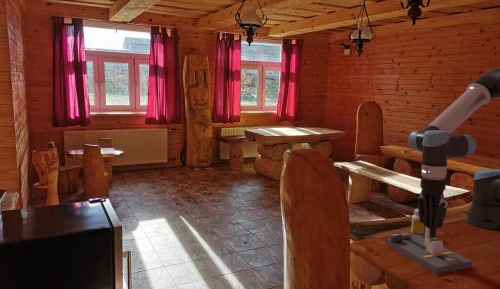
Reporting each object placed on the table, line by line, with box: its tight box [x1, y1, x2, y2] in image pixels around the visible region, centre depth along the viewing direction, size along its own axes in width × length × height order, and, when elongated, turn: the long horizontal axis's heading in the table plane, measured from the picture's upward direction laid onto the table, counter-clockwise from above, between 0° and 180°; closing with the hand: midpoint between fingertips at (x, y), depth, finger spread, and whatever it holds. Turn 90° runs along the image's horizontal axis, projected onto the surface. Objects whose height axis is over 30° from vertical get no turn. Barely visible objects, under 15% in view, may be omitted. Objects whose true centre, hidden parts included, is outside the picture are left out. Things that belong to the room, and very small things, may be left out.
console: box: [385, 232, 473, 274], centre depth 129 cm, size 14×24×5 cm, turn 18°
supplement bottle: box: [410, 208, 425, 237], centre depth 147 cm, size 5×5×10 cm
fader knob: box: [426, 237, 444, 254], centre depth 126 cm, size 4×3×4 cm
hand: (429, 245), depth 128 cm, fingers closed
